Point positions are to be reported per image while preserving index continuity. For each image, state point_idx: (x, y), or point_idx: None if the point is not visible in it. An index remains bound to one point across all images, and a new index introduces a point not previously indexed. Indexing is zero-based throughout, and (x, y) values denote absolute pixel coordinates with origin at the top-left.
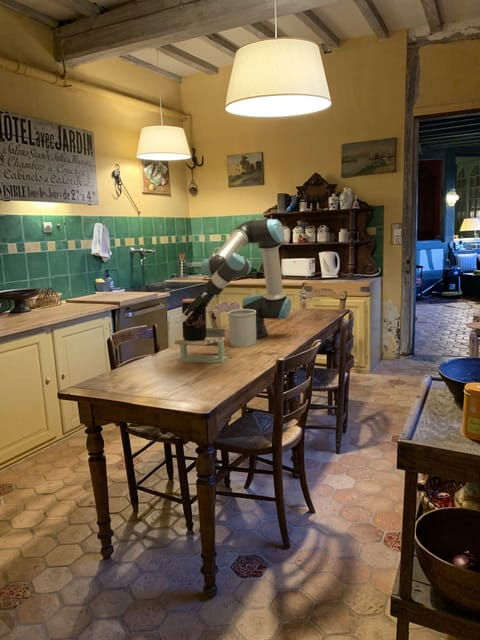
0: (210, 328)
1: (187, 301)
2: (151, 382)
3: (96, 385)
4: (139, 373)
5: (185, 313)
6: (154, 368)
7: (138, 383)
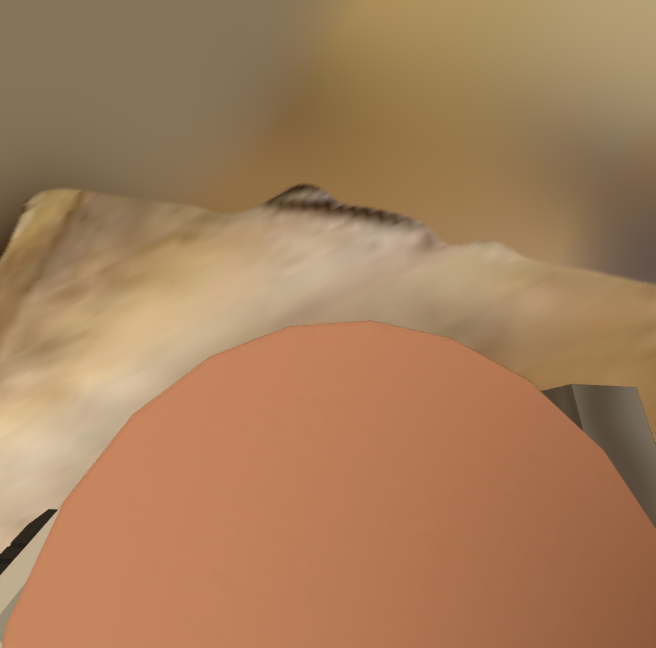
0: (651, 496)
1: (37, 578)
2: (97, 389)
3: (89, 237)
4: (203, 299)
5: (24, 542)
6: (264, 322)
7: (91, 349)
